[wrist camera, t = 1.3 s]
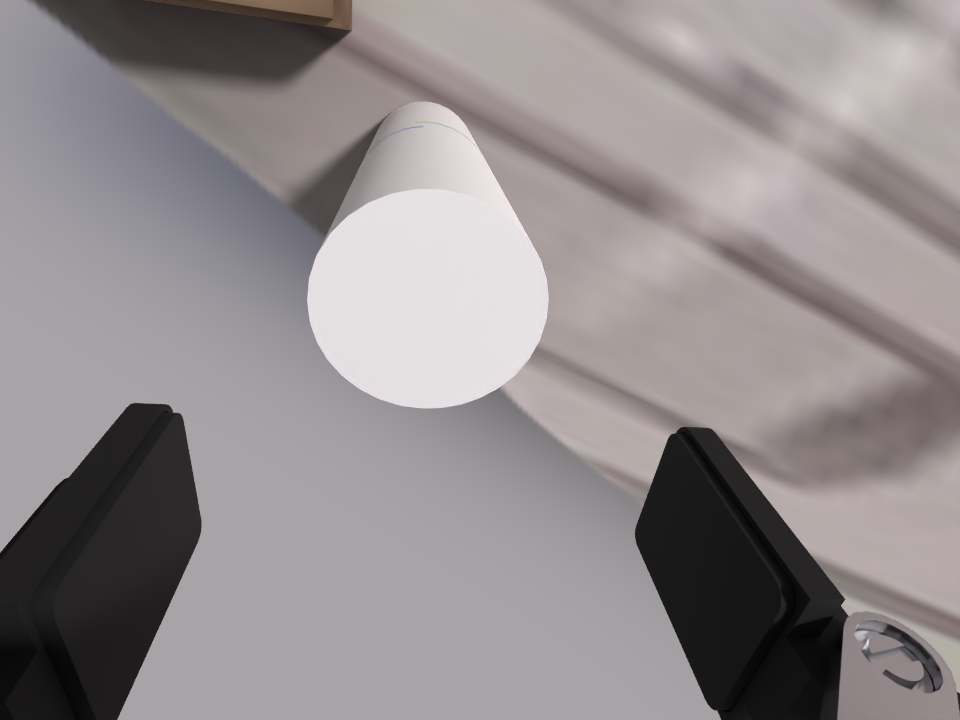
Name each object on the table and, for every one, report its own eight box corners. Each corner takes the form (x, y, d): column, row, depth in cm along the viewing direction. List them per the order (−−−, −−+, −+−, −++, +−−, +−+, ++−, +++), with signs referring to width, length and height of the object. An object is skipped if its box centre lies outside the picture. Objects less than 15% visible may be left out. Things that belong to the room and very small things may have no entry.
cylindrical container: (357, 117, 36) (263, 229, 14) (460, 88, 35) (522, 156, 14) (392, 220, 39) (359, 431, 18) (485, 194, 39) (565, 376, 18)
